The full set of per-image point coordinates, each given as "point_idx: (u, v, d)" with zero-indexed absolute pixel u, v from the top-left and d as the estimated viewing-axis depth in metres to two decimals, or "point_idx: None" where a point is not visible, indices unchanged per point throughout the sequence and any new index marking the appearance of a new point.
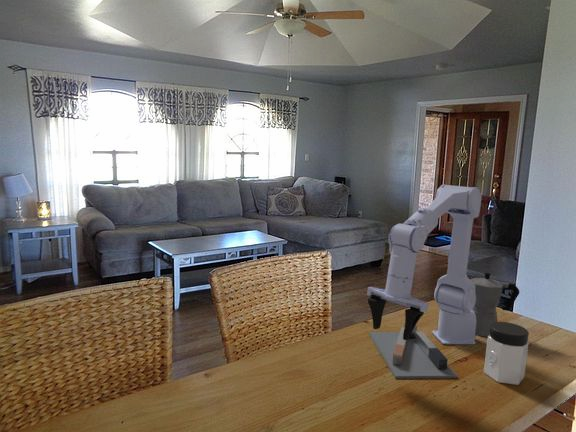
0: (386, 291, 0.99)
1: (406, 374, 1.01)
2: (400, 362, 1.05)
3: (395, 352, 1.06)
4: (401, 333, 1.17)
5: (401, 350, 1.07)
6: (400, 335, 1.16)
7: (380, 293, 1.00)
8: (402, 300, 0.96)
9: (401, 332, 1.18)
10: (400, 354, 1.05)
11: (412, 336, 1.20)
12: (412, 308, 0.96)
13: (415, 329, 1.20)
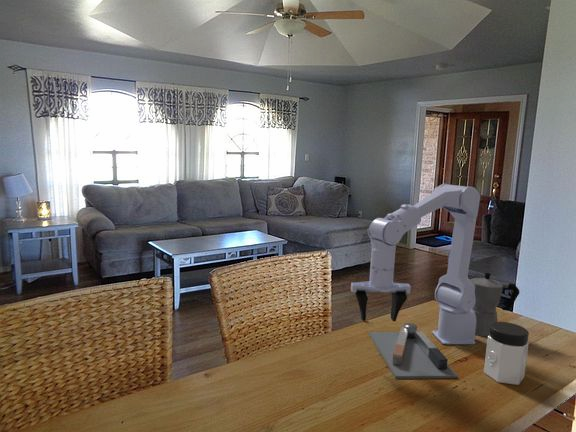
0: (376, 285, 1.04)
1: (406, 374, 1.01)
2: (400, 362, 1.05)
3: (395, 352, 1.06)
4: (401, 333, 1.17)
5: (401, 350, 1.07)
6: (400, 335, 1.16)
7: (370, 288, 1.05)
8: (393, 289, 1.05)
9: (401, 332, 1.18)
10: (400, 354, 1.05)
11: (412, 336, 1.20)
12: (399, 292, 1.06)
13: (415, 329, 1.20)
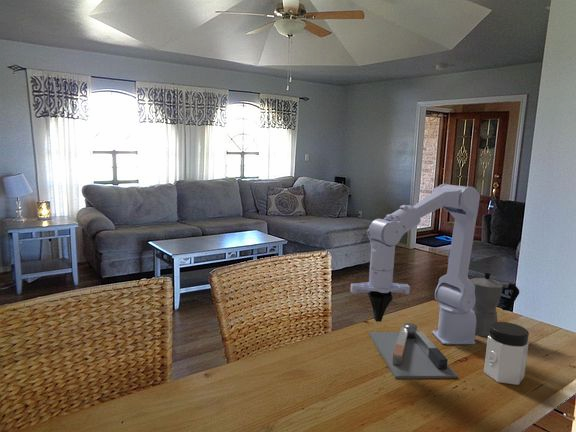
0: (376, 285, 1.05)
1: (406, 374, 1.01)
2: (400, 362, 1.05)
3: (395, 352, 1.06)
4: (401, 333, 1.17)
5: (401, 350, 1.07)
6: (400, 335, 1.16)
7: (369, 289, 1.05)
8: (393, 289, 1.05)
9: (401, 332, 1.18)
10: (400, 354, 1.05)
11: (412, 336, 1.20)
12: None
13: (415, 329, 1.20)
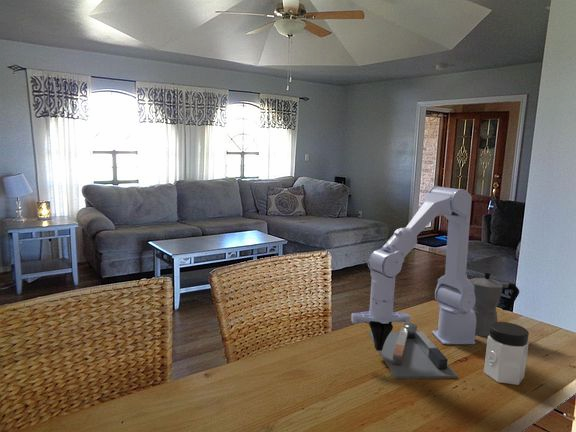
0: (376, 316, 1.06)
1: (406, 374, 1.01)
2: (400, 362, 1.05)
3: (395, 352, 1.06)
4: (401, 333, 1.17)
5: (401, 350, 1.07)
6: (400, 335, 1.16)
7: (370, 319, 1.06)
8: (393, 319, 1.06)
9: (401, 332, 1.18)
10: (400, 354, 1.05)
11: (412, 336, 1.20)
12: None
13: (415, 329, 1.20)
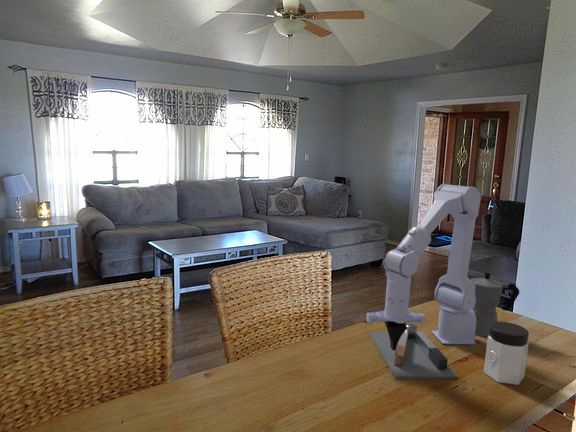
0: (392, 315, 1.06)
1: (406, 374, 1.01)
2: (402, 362, 1.05)
3: (397, 352, 1.06)
4: None
5: (402, 350, 1.07)
6: None
7: (386, 318, 1.06)
8: (408, 319, 1.07)
9: None
10: (402, 354, 1.05)
11: (412, 336, 1.20)
12: None
13: (415, 329, 1.20)
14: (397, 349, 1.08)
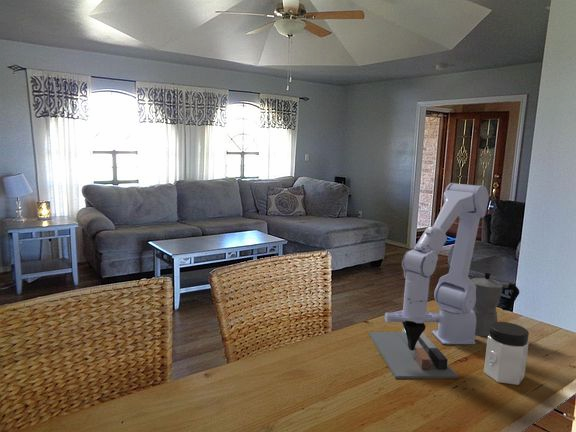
0: (411, 315, 1.07)
1: (406, 374, 1.01)
2: (429, 366, 1.04)
3: (422, 356, 1.04)
4: None
5: (425, 353, 1.06)
6: None
7: (404, 318, 1.07)
8: (427, 319, 1.07)
9: None
10: (428, 358, 1.04)
11: None
12: None
13: None
14: (419, 353, 1.06)
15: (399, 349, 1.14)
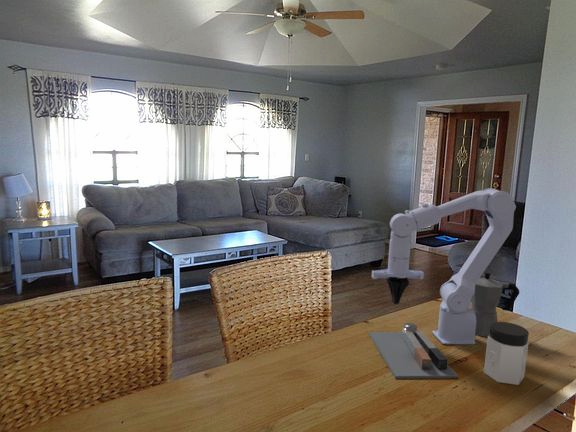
0: (394, 272, 1.20)
1: (406, 374, 1.01)
2: (429, 366, 1.04)
3: (422, 356, 1.04)
4: (408, 335, 1.16)
5: (425, 353, 1.06)
6: (410, 337, 1.15)
7: (389, 275, 1.20)
8: (409, 275, 1.20)
9: (407, 334, 1.17)
10: (428, 358, 1.04)
11: (414, 336, 1.20)
12: None
13: (416, 328, 1.21)
14: (419, 353, 1.06)
15: (399, 349, 1.14)
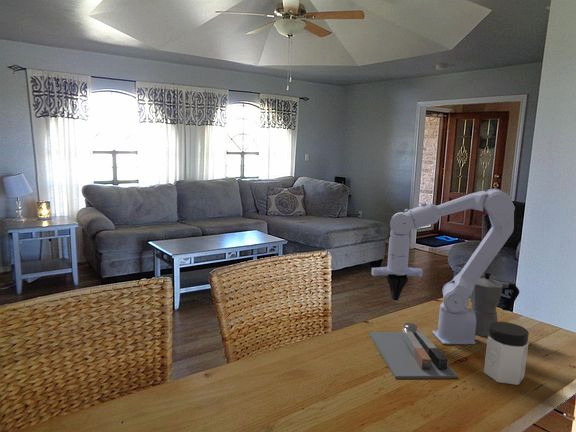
0: (394, 269, 1.22)
1: (406, 374, 1.01)
2: (429, 366, 1.04)
3: (422, 356, 1.04)
4: (408, 335, 1.16)
5: (425, 353, 1.06)
6: (410, 337, 1.15)
7: (388, 272, 1.22)
8: (408, 272, 1.23)
9: (407, 334, 1.17)
10: (428, 358, 1.04)
11: (414, 336, 1.20)
12: None
13: (416, 328, 1.21)
14: (419, 353, 1.06)
15: (399, 349, 1.14)
